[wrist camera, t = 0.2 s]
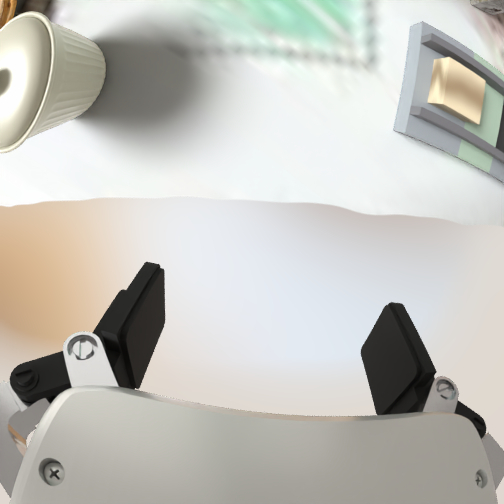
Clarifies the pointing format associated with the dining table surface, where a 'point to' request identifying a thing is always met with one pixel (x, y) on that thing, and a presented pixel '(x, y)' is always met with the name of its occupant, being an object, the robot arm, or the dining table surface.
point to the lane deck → (440, 122)
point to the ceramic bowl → (7, 11)
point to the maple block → (456, 90)
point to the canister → (44, 77)
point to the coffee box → (489, 6)
